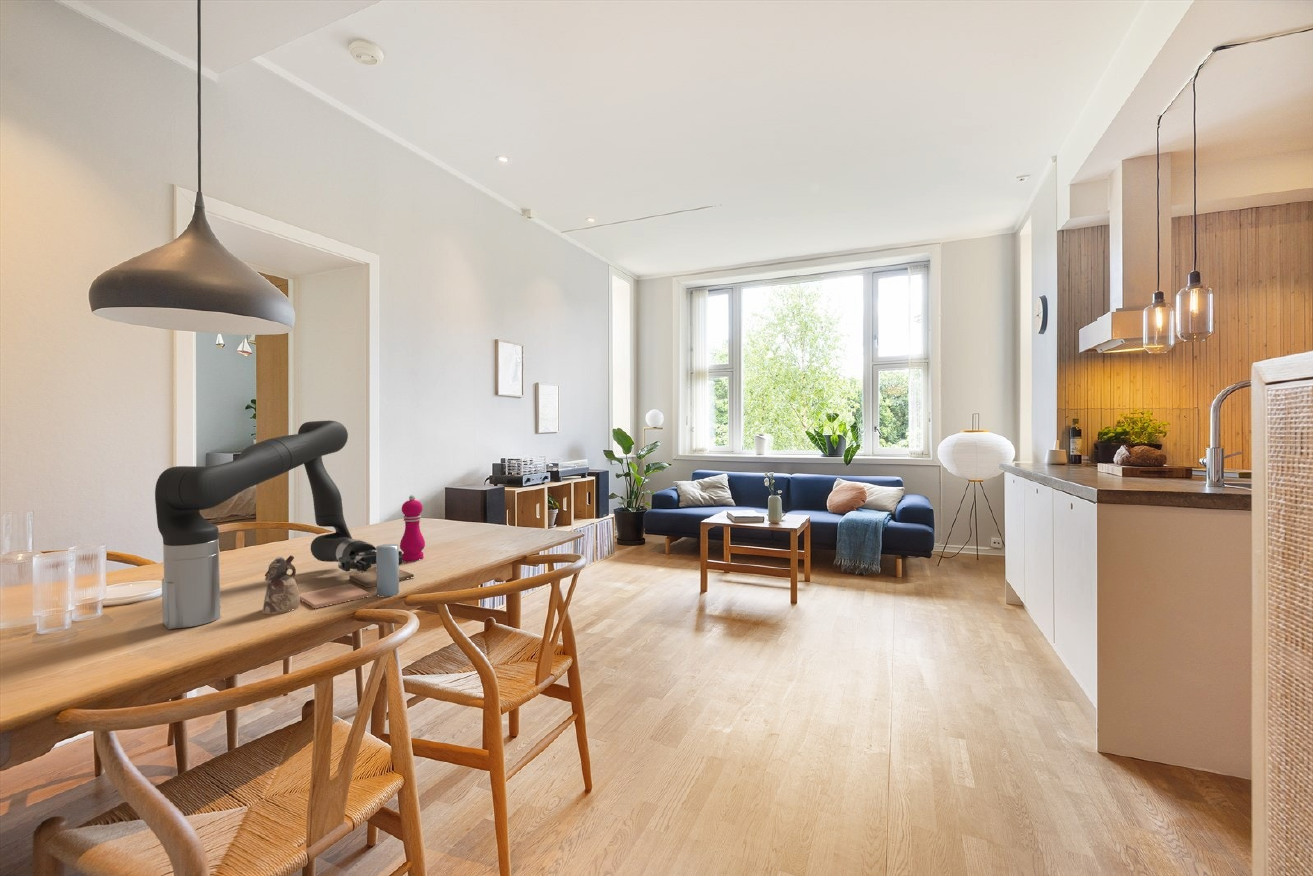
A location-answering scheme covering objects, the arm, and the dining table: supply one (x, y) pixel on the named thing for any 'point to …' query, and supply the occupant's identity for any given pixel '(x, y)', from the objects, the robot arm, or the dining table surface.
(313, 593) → the terracotta tile
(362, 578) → the walnut board
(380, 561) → the canister
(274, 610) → the figurine
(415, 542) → the pepper mill
